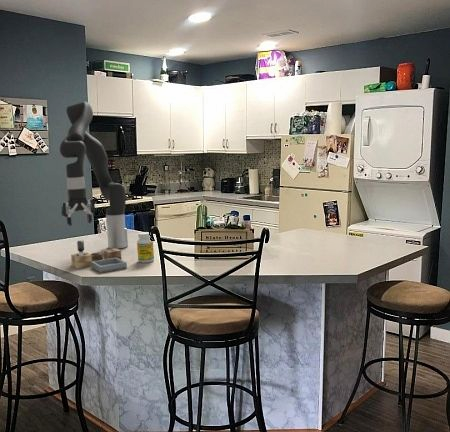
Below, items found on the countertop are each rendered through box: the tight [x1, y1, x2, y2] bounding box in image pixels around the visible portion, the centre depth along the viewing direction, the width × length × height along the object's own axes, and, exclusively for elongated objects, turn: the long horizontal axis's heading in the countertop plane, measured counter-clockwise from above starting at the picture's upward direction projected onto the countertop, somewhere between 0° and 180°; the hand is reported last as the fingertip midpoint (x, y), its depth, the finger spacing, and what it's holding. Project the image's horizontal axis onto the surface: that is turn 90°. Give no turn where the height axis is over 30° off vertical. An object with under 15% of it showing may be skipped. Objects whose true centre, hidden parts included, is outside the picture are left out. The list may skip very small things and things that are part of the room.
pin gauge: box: [76, 240, 85, 256], centre depth 222 cm, size 3×3×11 cm
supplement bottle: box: [136, 231, 155, 263], centre depth 227 cm, size 7×7×13 cm
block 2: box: [103, 248, 122, 260], centre depth 229 cm, size 6×6×5 cm
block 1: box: [70, 251, 92, 269], centre depth 223 cm, size 7×7×5 cm
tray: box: [90, 258, 128, 274], centre depth 217 cm, size 12×12×3 cm
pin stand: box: [90, 252, 104, 261], centre depth 231 cm, size 5×5×3 cm
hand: (79, 224), depth 220 cm, fingers open, 8 cm apart
